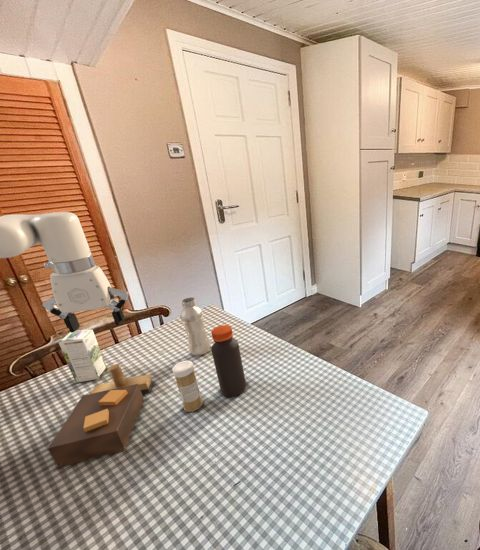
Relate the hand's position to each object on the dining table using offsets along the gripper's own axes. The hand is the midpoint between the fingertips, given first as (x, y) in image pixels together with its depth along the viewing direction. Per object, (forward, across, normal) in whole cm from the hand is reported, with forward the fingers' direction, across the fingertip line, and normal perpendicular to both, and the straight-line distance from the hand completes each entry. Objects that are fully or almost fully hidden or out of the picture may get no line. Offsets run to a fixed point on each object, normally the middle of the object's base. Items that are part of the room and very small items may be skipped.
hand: (98, 326), depth 79 cm
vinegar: (+22, +30, -10) cm, 38 cm away
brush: (+21, +1, -2) cm, 21 cm away
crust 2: (+15, +3, -11) cm, 19 cm away
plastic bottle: (+22, +18, +13) cm, 31 cm away
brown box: (+21, +1, -15) cm, 26 cm away
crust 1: (+15, +2, -18) cm, 24 cm away
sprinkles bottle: (+22, +20, -13) cm, 32 cm away
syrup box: (+22, -12, +11) cm, 27 cm away
